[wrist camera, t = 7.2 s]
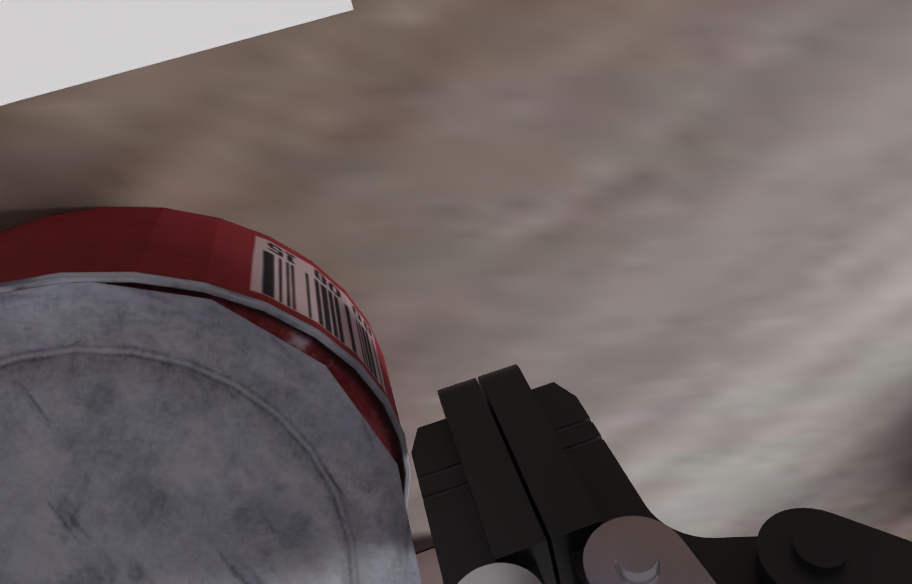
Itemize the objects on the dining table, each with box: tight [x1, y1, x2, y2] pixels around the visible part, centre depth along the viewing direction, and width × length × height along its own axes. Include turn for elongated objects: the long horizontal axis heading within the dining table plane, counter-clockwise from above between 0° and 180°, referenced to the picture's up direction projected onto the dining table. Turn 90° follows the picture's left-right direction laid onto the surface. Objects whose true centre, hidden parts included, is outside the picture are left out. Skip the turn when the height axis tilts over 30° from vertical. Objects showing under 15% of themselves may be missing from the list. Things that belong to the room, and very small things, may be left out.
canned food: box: [0, 207, 422, 584], centre depth 11 cm, size 11×10×10 cm
